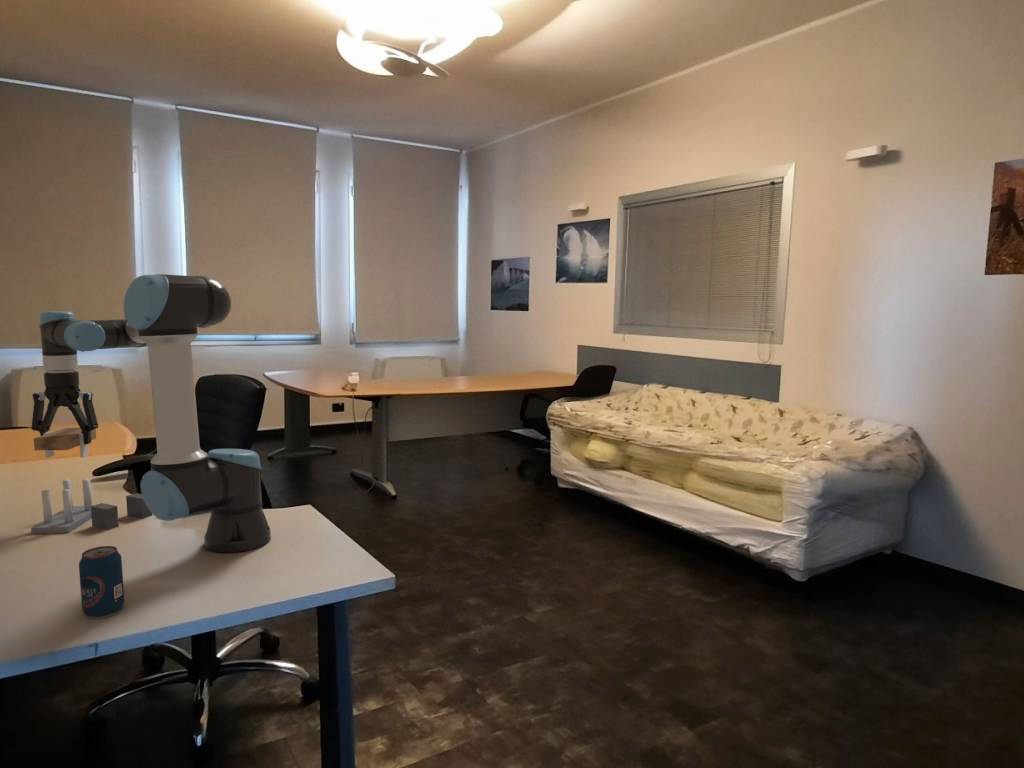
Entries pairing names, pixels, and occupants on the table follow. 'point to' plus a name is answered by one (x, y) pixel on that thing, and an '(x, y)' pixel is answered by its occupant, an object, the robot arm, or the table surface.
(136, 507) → the rests
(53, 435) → the shelf board
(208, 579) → the table surface
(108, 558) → the soda can
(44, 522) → the peg stand
